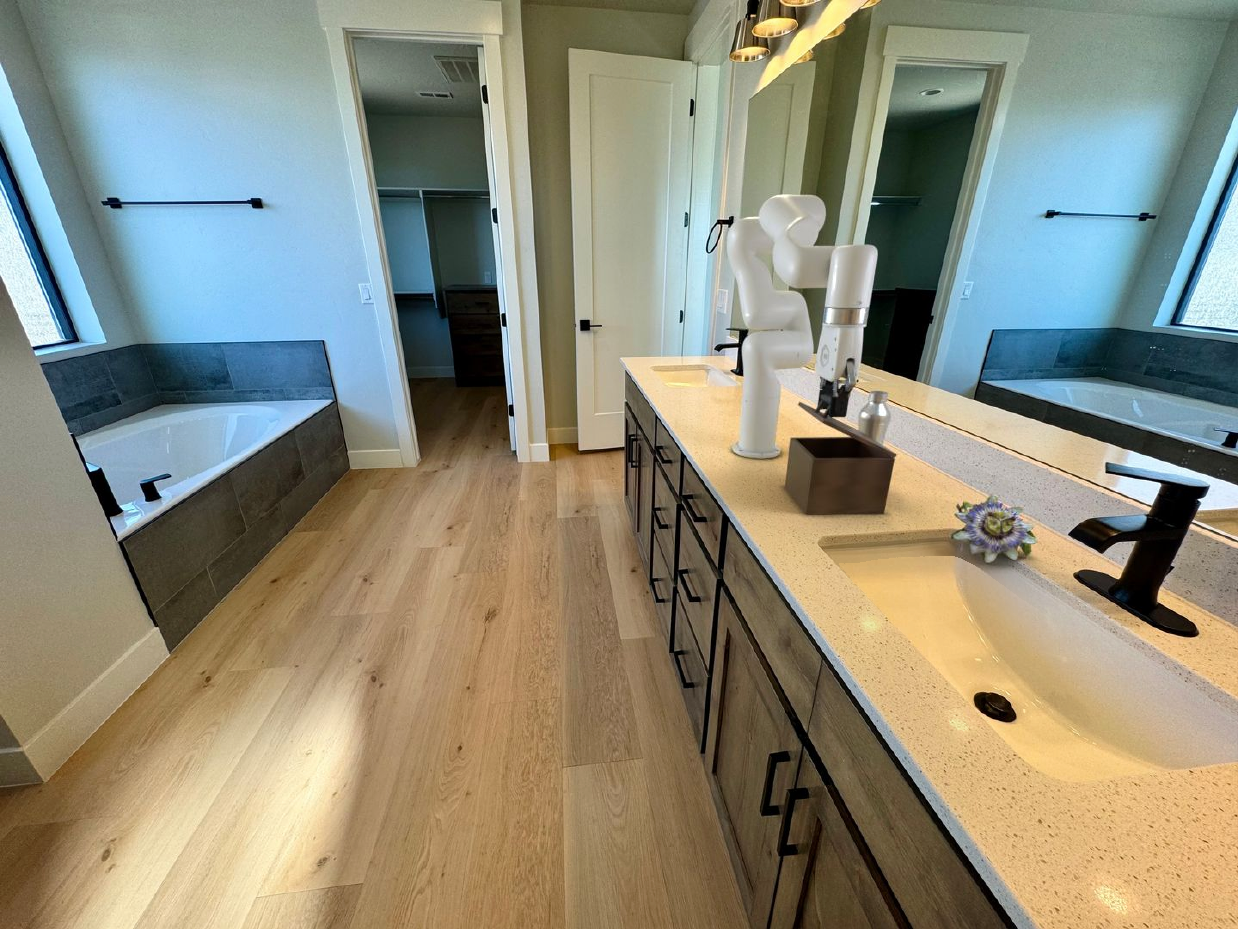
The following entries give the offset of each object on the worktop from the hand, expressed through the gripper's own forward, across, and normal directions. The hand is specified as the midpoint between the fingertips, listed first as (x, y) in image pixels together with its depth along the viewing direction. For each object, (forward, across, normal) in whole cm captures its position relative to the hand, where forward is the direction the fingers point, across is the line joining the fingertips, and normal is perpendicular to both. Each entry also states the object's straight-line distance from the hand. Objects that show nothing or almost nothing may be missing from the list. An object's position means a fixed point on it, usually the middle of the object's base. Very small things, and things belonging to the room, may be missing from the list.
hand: (831, 411), depth 97 cm
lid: (+4, 0, +3) cm, 5 cm away
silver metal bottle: (+20, -13, +16) cm, 28 cm away
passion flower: (+19, +21, +21) cm, 35 cm away
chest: (+19, 0, +3) cm, 19 cm away
